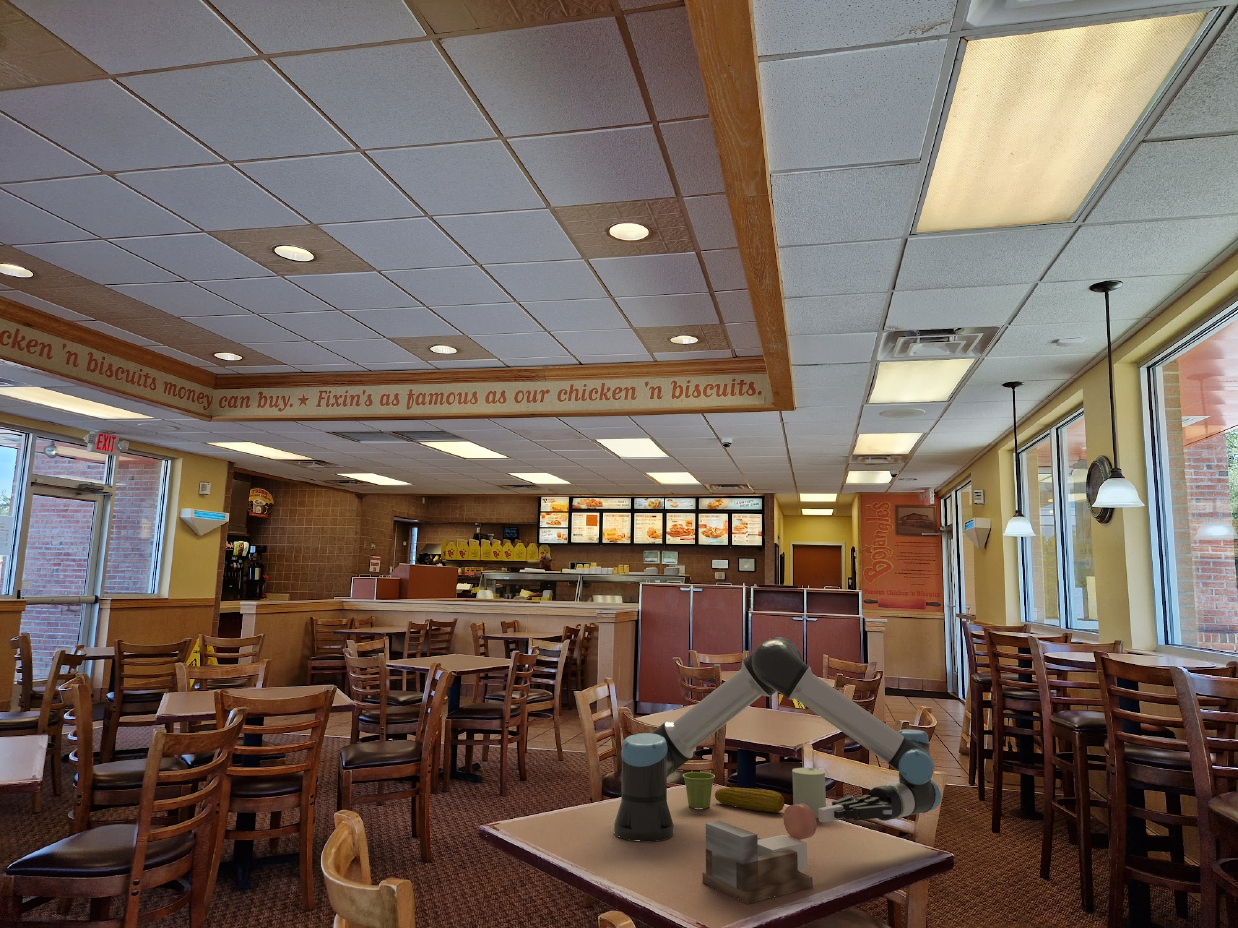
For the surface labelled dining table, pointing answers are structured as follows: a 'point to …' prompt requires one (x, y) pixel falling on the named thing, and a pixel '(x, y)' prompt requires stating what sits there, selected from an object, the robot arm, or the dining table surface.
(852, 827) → the dining table surface
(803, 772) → the can
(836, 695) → the robot arm
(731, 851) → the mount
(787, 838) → the plunger
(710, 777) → the plant pot
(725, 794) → the food
